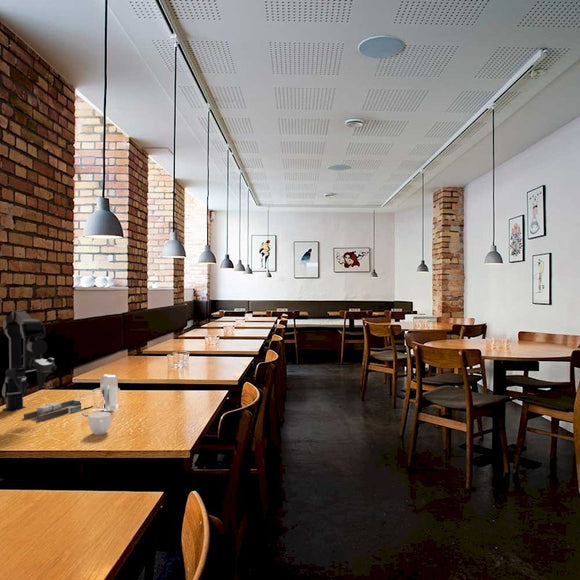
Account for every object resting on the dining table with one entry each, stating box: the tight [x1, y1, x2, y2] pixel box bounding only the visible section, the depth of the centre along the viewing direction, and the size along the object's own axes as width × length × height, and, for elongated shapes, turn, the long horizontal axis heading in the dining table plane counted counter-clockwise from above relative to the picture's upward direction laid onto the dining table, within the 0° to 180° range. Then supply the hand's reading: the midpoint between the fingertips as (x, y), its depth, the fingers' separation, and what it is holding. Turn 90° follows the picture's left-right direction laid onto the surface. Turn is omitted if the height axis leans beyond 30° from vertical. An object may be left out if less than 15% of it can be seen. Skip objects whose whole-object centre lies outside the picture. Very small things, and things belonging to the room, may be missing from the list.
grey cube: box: [36, 404, 52, 417], centre depth 194 cm, size 4×4×4 cm
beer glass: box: [99, 373, 119, 412], centre depth 205 cm, size 7×7×15 cm
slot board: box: [21, 399, 82, 423], centre depth 200 cm, size 12×26×2 cm, turn 158°
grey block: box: [47, 402, 62, 412], centre depth 198 cm, size 4×4×4 cm
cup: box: [87, 411, 112, 436], centre depth 172 cm, size 8×10×7 cm
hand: (31, 391), depth 188 cm, fingers open, 8 cm apart
